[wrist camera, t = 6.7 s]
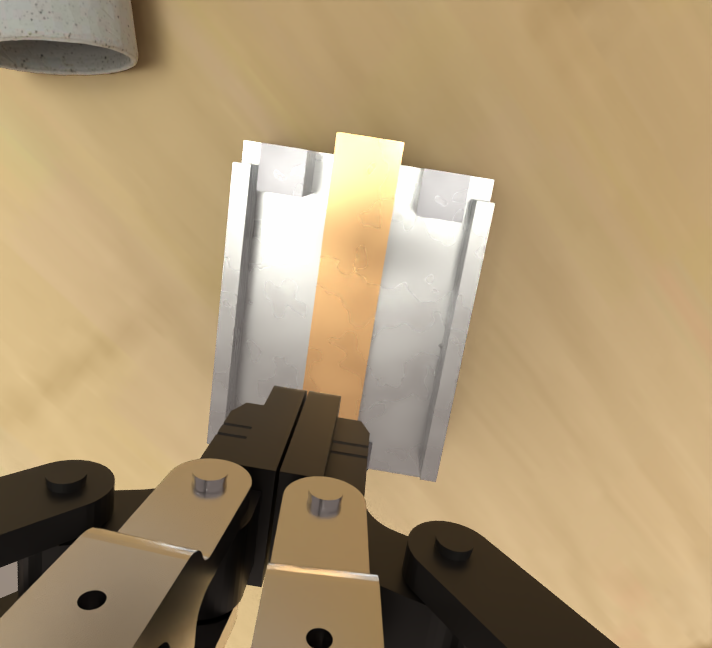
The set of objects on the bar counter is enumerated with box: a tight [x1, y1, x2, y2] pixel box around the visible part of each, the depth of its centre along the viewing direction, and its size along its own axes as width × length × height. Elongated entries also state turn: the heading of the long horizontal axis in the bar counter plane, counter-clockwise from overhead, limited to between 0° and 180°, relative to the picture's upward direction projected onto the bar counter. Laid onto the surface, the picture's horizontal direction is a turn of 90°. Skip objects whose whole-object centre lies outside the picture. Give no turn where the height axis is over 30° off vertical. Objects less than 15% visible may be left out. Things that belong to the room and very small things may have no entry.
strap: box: [303, 132, 404, 420], centre depth 28 cm, size 17×4×2 cm, turn 171°
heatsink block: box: [207, 140, 495, 482], centre depth 31 cm, size 16×12×8 cm
